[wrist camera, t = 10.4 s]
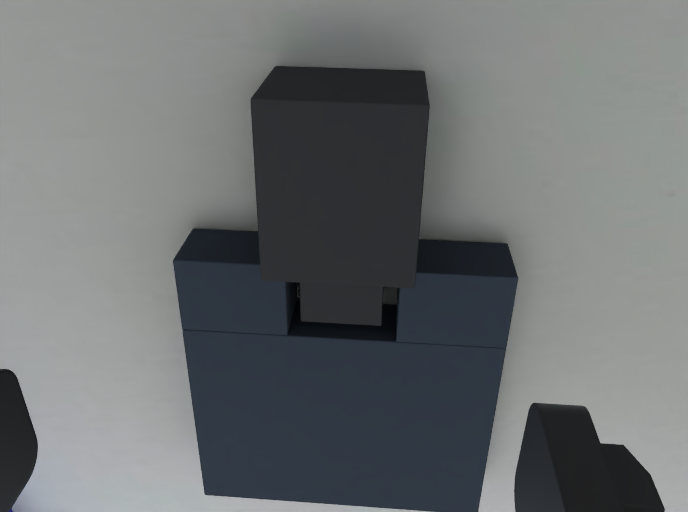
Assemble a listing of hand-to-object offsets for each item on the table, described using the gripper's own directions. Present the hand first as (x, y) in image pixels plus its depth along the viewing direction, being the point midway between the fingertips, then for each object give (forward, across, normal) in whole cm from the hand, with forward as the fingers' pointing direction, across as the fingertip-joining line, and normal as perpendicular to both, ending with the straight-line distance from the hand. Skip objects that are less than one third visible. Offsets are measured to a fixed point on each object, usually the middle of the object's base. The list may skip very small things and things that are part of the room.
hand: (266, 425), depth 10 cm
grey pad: (+14, 0, +10) cm, 17 cm away
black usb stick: (+14, 0, +2) cm, 14 cm away
